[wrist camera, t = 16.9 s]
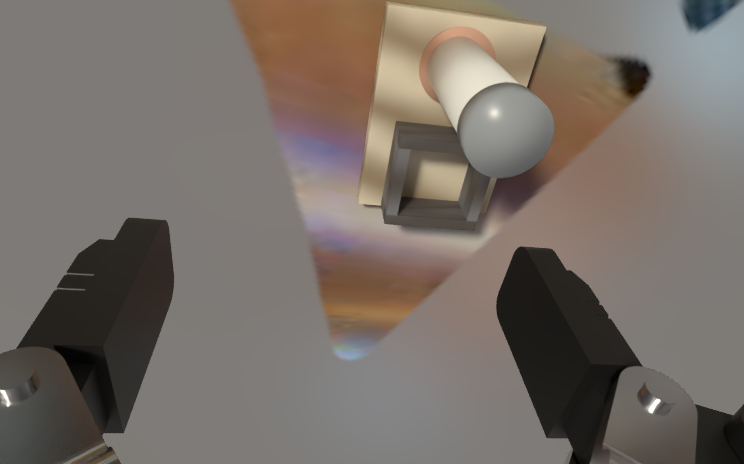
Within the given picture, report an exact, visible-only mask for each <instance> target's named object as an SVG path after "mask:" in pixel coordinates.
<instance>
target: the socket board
mask: <svg viewBox="0 0 744 464" xmlns="http://www.w3.org/2000/svg"><path fill="white" fill-rule="evenodd" d="M545 30H546V27H545V26H544V25H542V24H540V23H536V22H529V21H522V20H515V19H508V18H501V17H494V16H487V15H480V14H473V13H467V12H460V11H453V10H446V9H439V8H432V7H425V6H418V5H411V4H404V3H397V2H390V1H386V6H385V13H384V20H383V26H382V33H381V40H380V47H379V53H378V60H377V67H376V74H375V80H374V87H373V94H372V101H371V107H370V114H369V121H368V128H367V134H366V141H365V148H364V155H363V161H362V168H361V175H360V182H359V188H358V195H357V197H358V204H367V205H380V206H381V207H382V212H383V218H384V223H385V224H393V225H406V226H420V227H434V228H447V229H461V230H474V229H475V226H476V223H477V220H478V216H479V213H481V214H486V211H487V208H488V204H489V201H490V198H491V195H492V192H493V189H494V186H495V183H496V180H497V178H493V177H489V176H486V175H484V174H481V173H480V172H478V171H477V170H476V169H475V168H474V167H473V166H472V165H471V164H470V162H469V160H468V159H467V157H466V155H465V153H464V151H463V150H462V148H461V146H460V143H459V141H458V137H457V132H456V130H455V128H454V127H453V125H452V123H451V121H450V120H449V118H448V116H447V114H446V112H445V111H444V109H443V107H442V105H441V103H440V102H439V100H438V98H437V96H436V94H435V93H434V91H433V89H432V87H431V85H430V84H429V81H428V78H427V73H426V69H427V63H428V59H429V57H430V55H431V53H432V52H433V50H434V49H435V48H436V47H437V46H438V45H439V44H440V43H442V42H443V41H445V40H447V39H449V38H452V37H458V36H462V37H468V38H471V39H473V40H474V41H476V42H477V43H478V44H479V45H480V46H481V47H482V48H483V49H484V50H485V51H486V52H487V53H488V54H489V55H490V56H491V57H492V58H493V59H494V60H495V61H496V62H497V63H498V64H499V65H501V66H502V67H503V68H504V69H505V70H506V71H507V72H508V73H509V74H510V75H511V76H512V77H513V78H514V79H515V80H516V81H517V82H518V83H519V84H520V85H523V86H525V87H527V85H528V82H529V79H530V76H531V73H532V70H533V67H534V64H535V61H536V57H537V54H538V51H539V48H540V45H541V42H542V39H543V36H544V33H545Z"/></svg>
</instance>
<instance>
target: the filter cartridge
mask: <svg viewBox="0 0 744 464" xmlns="http://www.w3.org/2000/svg"><path fill="white" fill-rule="evenodd" d="M426 73H427V78H428V81H429V84H430V85H431V87H432V89H433V91H434V93H435V94H436V96H437V98H438V100H439V102H440V103H441V105H442V107H443V109H444V111H445V112H446V114H447V116H448V118H449V120H450V121H451V123H452V125H453V127H454V128H455V130H456V132H457V137H458V141H459V143H460V146H461V148H462V150H463V151H464V153H465V155H466V157H467V159H468V160H469V162H470V164H471V165H472V166H473V167H474V168H475V169H476V170H477V171H478V172H480V173H481V174H484V175H486V176H489V177H493V178H508V177H513V176H516V175H519V174H521V173H524V172H525V171H527V170H529V169H530V168H532V167H533V166H535V165H536V164H537V163H538V162H539V161H540V160H541V159H542V158H543V156H544V155H545V154H546V152H547V151H548V149H549V147H550V145H551V143H552V139H553V136H554V120H553V116H552V114H551V111H550V110H549V108H548V107H547V106H546V105H545V103H544V102H542V101H541V100H540V99H539V98H538V97H537V96H536V95H535V94H534V93H533V92H532V91H531V90H530V89H528V88H527V87H525V86H523V85H520V84H519V83H518V82H517V81H516V80H515V79H514V78H513V77H512V76H511V75H510V74H509V73H508V72H507V71H506V70H505V69H504V68H503V67H502V66H501V65H499V64H498V63H497V62H496V61H495V60H494V59H493V58H492V57H491V56H490V55H489V54H488V53H487V52H486V51H485V50H484V49H483V48H482V47H481V46H480V45H479V44H478V43H477V42H476V41H474V40H473V39H471V38H468V37H462V36H458V37H452V38H449V39H447V40H445V41H443V42H442V43H440V44H439V45H438V46H437V47H436V48H435V49H434V50H433V52H432V53H431V55H430V57H429V59H428V63H427V69H426Z"/></svg>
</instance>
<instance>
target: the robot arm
mask: <svg viewBox="0 0 744 464" xmlns="http://www.w3.org/2000/svg"><path fill="white" fill-rule="evenodd" d="M173 288H174V272H173V262H172V253H171V243H170V234H169V226H168V223H167V221H166V220H155V219H154V220H153V219H141V218H128V219H126V221H125V222H124V224H123V226H122V227H121V229H120V231H119V233H118V234H117V236H116V238H115V239H114V240H103V239H99V240H98V241H96V242H95V243H93V244H92V245H91V246H89V247H88V248H86V249H85V250H83V251H82V252H81V253H79V254H78V255H77V257H76V258H75V260H74V262H73V263H72V265H71V266H70V268H69V269H68V271H67V275H64V277H63V278H62V280H61V281H60V283H59V284H58V286H57V290H55V291H54V292H53V293H52V295H51V297H50V298H49V300H48V301H47V303H46V304H45V306H44V307H43V309H42V310H41V312H40V313H39V315H38V316H37V318H36V319H35V321H34V322H33V324H32V325H31V327H30V329H29V330H28V331H27V333H26V334H25V336H24V337H23V339H22V341H21V342H20V344H19V345H18V347H17V348H16V349H13V350H9V351H6V352H3V353H1V354H0V464H121V462H120V460H119V458H118V456H117V455H116V453H115V451H114V450H113V448H112V447H109V448H108V446H107V445H106V443H105V441H104V439H103V437H102V435H103V433H124V431H125V428H126V425H127V422H128V420H129V417H130V414H131V411H132V409H133V406H134V403H135V400H136V398H137V395H138V392H139V389H140V386H141V384H142V381H143V378H144V375H145V373H146V369H147V367H148V364H149V361H150V359H151V356H152V353H153V350H154V348H155V345H156V342H157V339H158V337H159V334H160V331H161V328H162V325H163V323H164V320H165V317H166V314H167V312H168V309H169V306H170V303H171V300H172V295H173ZM496 307H497V308H496V309H497V316H498V320H499V322H500V325H501V327H502V330H503V332H504V335H505V337H506V339H507V342H508V344H509V347H510V349H511V351H512V354H513V357H514V359H515V361H516V364H517V366H518V369H519V371H520V374H521V376H522V378H523V381H524V384H525V386H526V388H527V391H528V393H529V396H530V398H531V401H532V403H533V406H534V408H535V410H536V413H537V415H538V417H539V420H540V423H541V425H542V427H543V430H544V432H545V435H546V437H547V438H568V439H569V441H570V444H571V446H572V448H571V450H570V451H569V452H568V454H567V457H566V459H565V463H564V464H744V405H743V406H742V407H741V408H740V409H739V410H738V411H737V412H736V413H735V415H730V414H726V413H723V412H719V411H716V410H713V409H709V408H706V407H703V406H699V405H696V404H694V402H693V400H692V398H691V397H690V395H689V394H688V393H687V392H686V391H685V390H684V389H683V388H682V387H681V386H680V385H679V384H678V383H677V382H675V381H674V380H673V379H671V378H670V377H668V376H666V375H664V374H663V373H661V372H658V371H656V370H654V369H650V368H646V367H643V366H642V365H641V363H640V362H639V360H638V359H637V357H636V356H635V354H634V353H633V351H632V350H631V348H630V347H629V346H628V344H627V342H626V341H625V339H624V338H623V336H622V335H621V333H620V332H619V330H618V329H617V327H616V326H615V324H614V323H613V321H612V320H611V319H609V318H608V314H607V312H606V311H605V310H604V308H603V306H602V305H599V301H598V299H597V298H596V296H595V294H594V293H593V291H592V290H591V288H590V287H589V285H587V284H586V283H585V282H584V281H583V280H582V279H580V278H579V277H578V276H577V275H576V274H574V273H573V272H572V271H569V270H568V271H567V270H566V269H565V267H564V266H563V264H562V262H561V261H560V259H559V258H558V256H557V255H556V253H555V252H554V251H553V250H552V249H548V248H534V247H519V248H517V250H516V251H515V252H514V255H513V257H512V260H511V262H510V265H509V268H508V270H507V273H506V275H505V278H504V280H503V283H502V285H501V288H500V291H499V294H498V297H497V305H496Z"/></svg>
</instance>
